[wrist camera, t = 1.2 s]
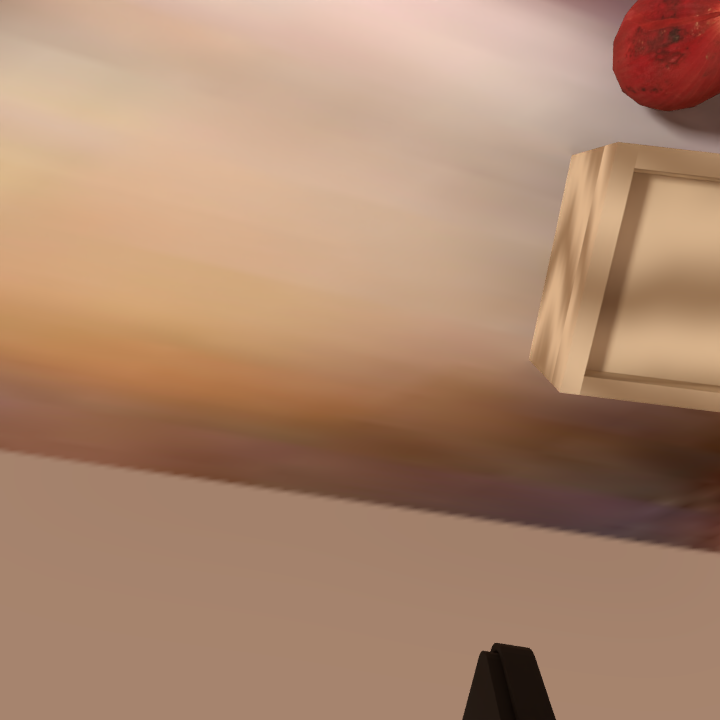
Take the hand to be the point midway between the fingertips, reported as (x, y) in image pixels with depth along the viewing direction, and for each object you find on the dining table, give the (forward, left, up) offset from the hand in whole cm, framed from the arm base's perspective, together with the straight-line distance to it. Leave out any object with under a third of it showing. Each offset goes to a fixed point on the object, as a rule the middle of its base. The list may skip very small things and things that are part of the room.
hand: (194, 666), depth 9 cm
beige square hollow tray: (-5, +18, -26) cm, 32 cm away
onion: (-16, +15, -26) cm, 34 cm away
